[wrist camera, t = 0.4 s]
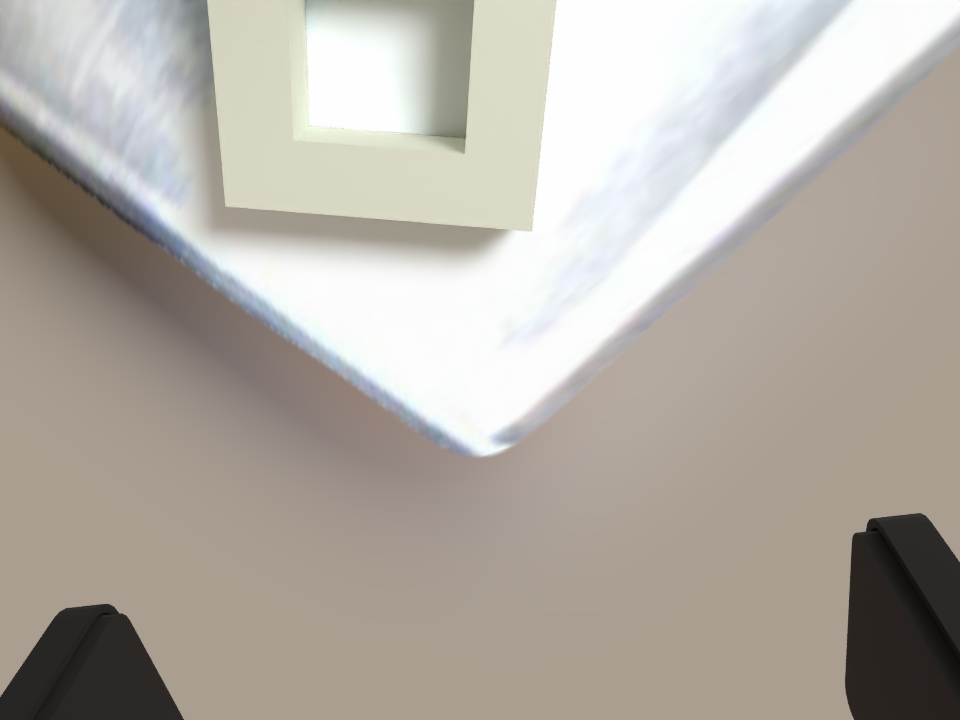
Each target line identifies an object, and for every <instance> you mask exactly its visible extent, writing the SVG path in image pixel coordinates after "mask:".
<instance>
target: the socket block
mask: <svg viewBox="0 0 960 720" xmlns="http://www.w3.org/2000/svg"><path fill="white" fill-rule="evenodd" d="M207 5H208V16H209V28H210V39H211V50H212V62H213V73H214V84H215V95H216V107H217V118H218V129H219V141H220V152H221V163H222V175H223V186H224V197H225V207H236V208H248V209H261V210H273V211H285V212H298V213H310V214H322V215H335V216H347V217H359V218H372V219H384V220H396V221H409V222H421V223H433V224H446V225H458V226H470V227H483V228H495V229H507V230H520V231H532V224H533V215H534V205H535V196H536V187H537V177H538V168H539V158H540V149H541V140H542V130H543V121H544V111H545V102H546V93H547V83H548V74H549V64H550V55H551V46H552V36H553V27H554V18H555V8H556V0H474V12H473V28H472V45H471V61H470V78H469V94H468V111H467V127H466V138H455V137H443V136H431V135H418V134H406V133H393V132H381V131H369V130H356V129H344V128H332V127H319V126H309V101H308V72H307V42H306V12H305V0H207Z"/></svg>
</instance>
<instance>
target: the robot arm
mask: <svg viewBox="0 0 960 720" xmlns="http://www.w3.org/2000/svg"><path fill="white" fill-rule="evenodd" d="M846 655H847V656H846V675H845V688H846V695H847V699H848V704H849V707H850V711H851V713H852V716H853V718H854V720H960V562H959V561H958V559H957V558H956V557H955V555H954V554H953V552H952V551H951V549H950V548H949V546H948V545H947V544H946V542H945V541H944V539H943V538H942V537H941V535H940V534H939V532H938V531H937V530H936V528H935V527H934V526H933V524H932V523H931V521H930V520H929V519H928V518H927V517H926V516H925V515H923V514H921V513H917V514H908V515H899V516H890V517H881V518H873V519H870V520H869V521H868V523H867V529H866V532H861V533H855V534H854V535H853V539H852V554H851V574H850V595H849V614H848V634H847V654H846ZM0 720H184V719H183V717H182V715H181V713H180V712H179V710H178V708H177V706H176V704H175V702H174V701H173V699H172V697H171V695H170V693H169V691H168V690H167V688H166V686H165V684H164V682H163V680H162V679H161V677H160V675H159V673H158V671H157V669H156V668H155V666H154V664H153V663H152V660H151V658H150V657H149V655H148V653H147V651H146V649H145V648H144V645H143V644H142V642H141V640H140V638H139V636H138V635H137V633H136V631H135V629H134V627H133V625H132V624H131V622H130V620H129V619H128V617H127V616H126V615H124V614H119V612H118V611H117V610H116V609H115V607H113V606H111V605H109V604H101V605H92V606H82V607H74V608H66V609H64V610H62V611H60V612H59V613H58V614H57V615H56V617H55V618H54V619H53V620H52V622H51V623H50V625H49V626H48V628H47V629H46V631H45V632H44V634H43V635H42V637H41V638H40V640H39V641H38V642H37V644H36V646H35V647H34V648H33V650H32V651H31V653H30V654H29V656H28V657H27V659H26V660H25V662H24V663H23V665H22V666H21V667H20V669H19V670H18V672H17V673H16V675H15V677H14V678H13V679H12V681H11V682H10V684H9V685H8V687H7V688H6V690H5V691H4V692H3V694H2V695H1V697H0Z"/></svg>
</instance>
